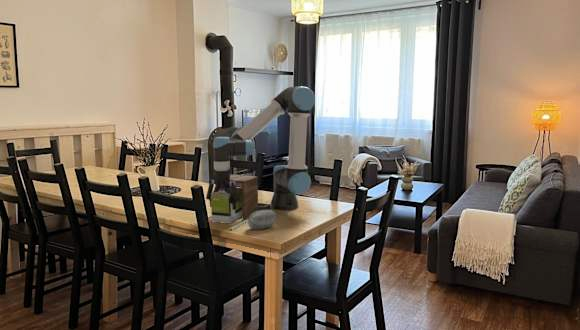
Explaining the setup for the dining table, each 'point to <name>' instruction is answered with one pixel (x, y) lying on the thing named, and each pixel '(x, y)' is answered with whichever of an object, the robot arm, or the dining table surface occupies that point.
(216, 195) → the tea box
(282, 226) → the dining table surface
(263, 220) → the gray ridged ovoid
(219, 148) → the robot arm
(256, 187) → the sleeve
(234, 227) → the lane
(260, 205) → the pit tray
